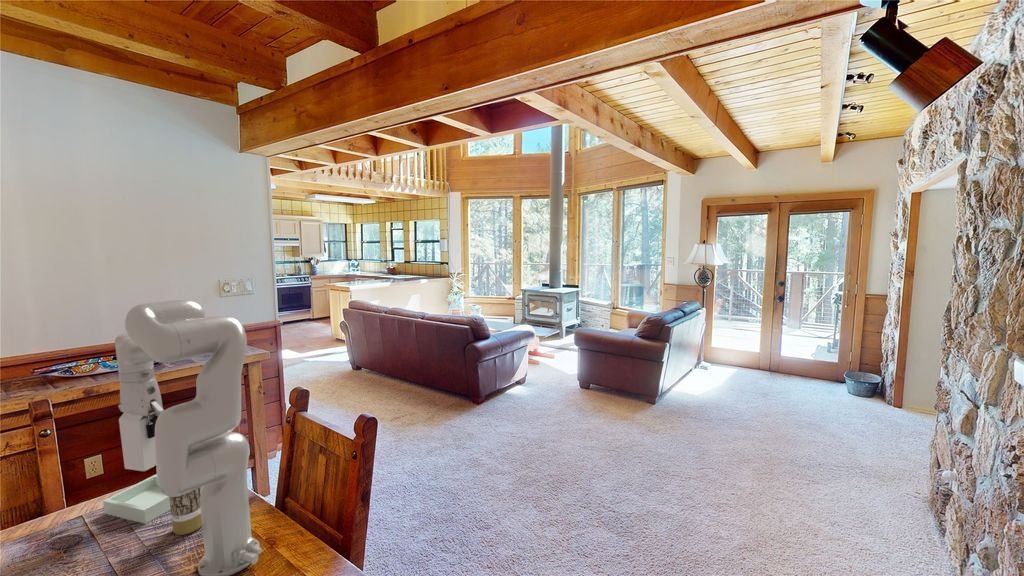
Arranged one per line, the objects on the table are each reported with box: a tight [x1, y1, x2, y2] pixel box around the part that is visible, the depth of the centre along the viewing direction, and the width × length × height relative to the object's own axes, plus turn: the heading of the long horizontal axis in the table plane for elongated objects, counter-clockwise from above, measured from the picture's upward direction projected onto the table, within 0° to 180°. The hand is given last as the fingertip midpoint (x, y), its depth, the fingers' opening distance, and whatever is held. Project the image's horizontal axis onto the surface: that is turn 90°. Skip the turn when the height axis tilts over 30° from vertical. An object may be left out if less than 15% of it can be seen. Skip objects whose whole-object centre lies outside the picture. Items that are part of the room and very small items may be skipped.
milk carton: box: [118, 411, 156, 472], centre depth 123 cm, size 7×7×19 cm
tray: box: [102, 473, 171, 525], centre depth 126 cm, size 16×14×4 cm
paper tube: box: [169, 487, 202, 536], centre depth 114 cm, size 7×7×25 cm
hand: (143, 434), depth 123 cm, fingers closed on milk carton, 7 cm apart
